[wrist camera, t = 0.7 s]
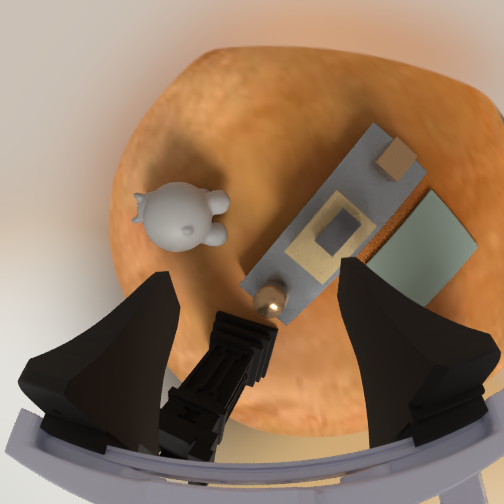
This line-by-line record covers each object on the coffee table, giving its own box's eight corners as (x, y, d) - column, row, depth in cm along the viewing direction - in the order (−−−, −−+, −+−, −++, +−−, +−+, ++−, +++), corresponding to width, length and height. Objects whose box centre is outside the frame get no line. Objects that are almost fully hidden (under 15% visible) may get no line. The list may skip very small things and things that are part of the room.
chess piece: (218, 310, 35) (120, 415, 17) (278, 329, 33) (213, 462, 15) (212, 356, 38) (134, 457, 19) (265, 374, 36) (207, 493, 17)
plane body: (370, 126, 24) (378, 113, 19) (420, 172, 24) (439, 171, 18) (245, 277, 33) (226, 297, 27) (290, 315, 32) (280, 342, 27)
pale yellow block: (336, 188, 25) (336, 190, 20) (371, 220, 24) (378, 228, 20) (290, 242, 27) (282, 254, 23) (324, 272, 27) (321, 289, 23)
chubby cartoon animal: (175, 174, 35) (117, 172, 28) (241, 189, 28) (172, 186, 22) (169, 226, 37) (113, 232, 30) (230, 254, 30) (164, 268, 24)
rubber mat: (476, 245, 23) (478, 246, 23) (415, 313, 27) (416, 315, 27) (430, 189, 24) (431, 189, 23) (365, 264, 28) (365, 265, 28)
